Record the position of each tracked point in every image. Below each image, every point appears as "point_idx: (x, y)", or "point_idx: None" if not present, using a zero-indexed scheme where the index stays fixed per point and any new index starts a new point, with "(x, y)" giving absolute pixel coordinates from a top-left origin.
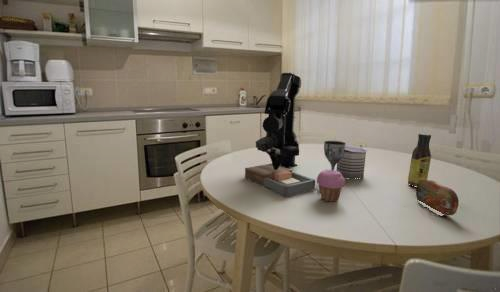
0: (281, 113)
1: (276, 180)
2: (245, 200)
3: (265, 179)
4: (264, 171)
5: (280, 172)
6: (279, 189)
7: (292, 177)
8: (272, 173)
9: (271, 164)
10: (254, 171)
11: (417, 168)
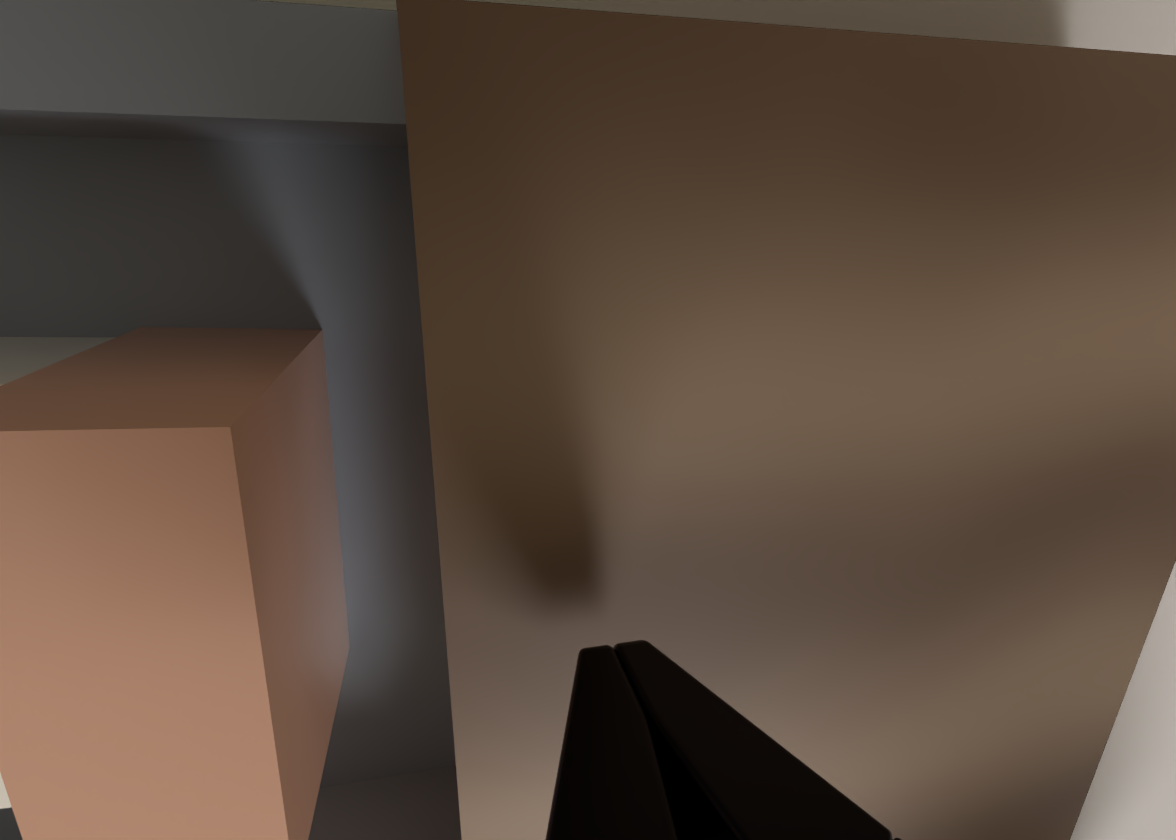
0: None
1: (174, 359)
2: None
3: (290, 15)
4: (791, 376)
5: (216, 650)
6: None
7: (394, 825)
8: (505, 472)
9: (1039, 792)
10: (987, 93)
11: None
